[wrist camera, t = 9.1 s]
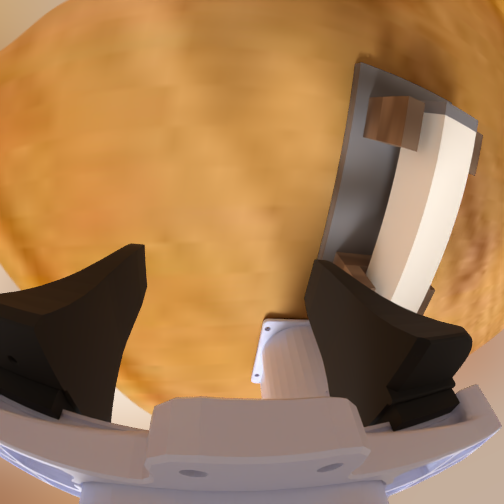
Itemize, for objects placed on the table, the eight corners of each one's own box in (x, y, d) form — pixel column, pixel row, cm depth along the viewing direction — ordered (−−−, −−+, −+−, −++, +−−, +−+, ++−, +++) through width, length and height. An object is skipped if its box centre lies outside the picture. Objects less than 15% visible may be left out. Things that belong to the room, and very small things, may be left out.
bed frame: (387, 302, 25) (415, 342, 20) (305, 300, 24) (323, 349, 19) (444, 102, 17) (494, 108, 11) (355, 64, 15) (398, 50, 10)
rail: (383, 304, 22) (404, 336, 18) (353, 304, 21) (372, 338, 18) (439, 114, 14) (478, 120, 11) (408, 100, 14) (446, 101, 10)
